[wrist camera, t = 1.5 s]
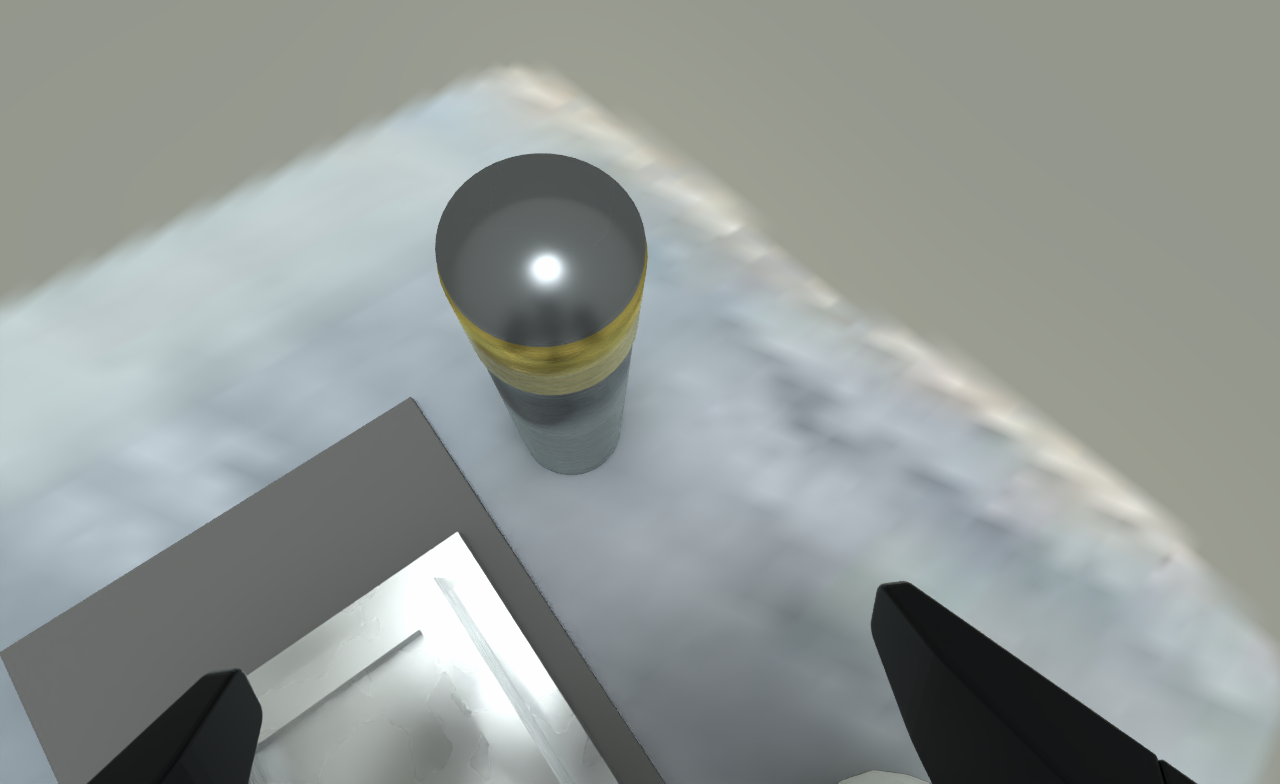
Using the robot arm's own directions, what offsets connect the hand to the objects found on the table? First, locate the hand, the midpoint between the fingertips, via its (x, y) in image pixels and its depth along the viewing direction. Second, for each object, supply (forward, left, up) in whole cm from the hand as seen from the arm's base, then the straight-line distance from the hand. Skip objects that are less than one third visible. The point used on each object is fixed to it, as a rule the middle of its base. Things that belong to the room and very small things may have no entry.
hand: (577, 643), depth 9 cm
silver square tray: (-1, +7, -12) cm, 14 cm away
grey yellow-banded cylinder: (+5, -3, -13) cm, 14 cm away
